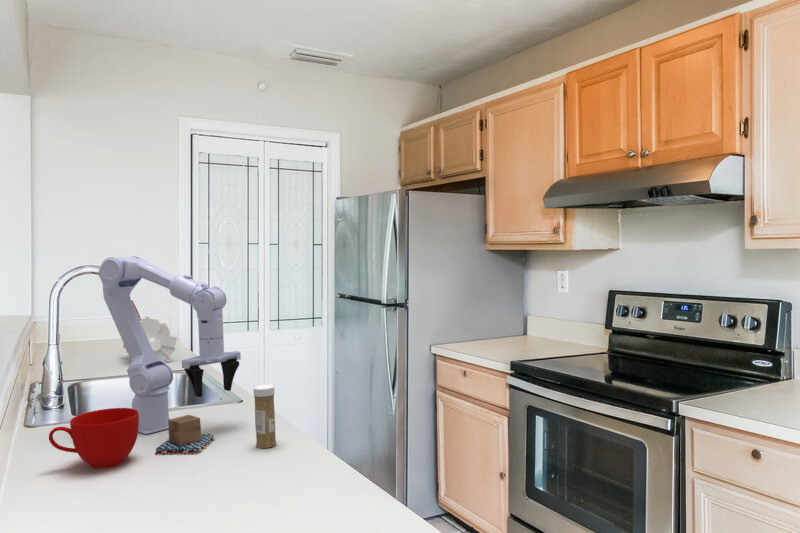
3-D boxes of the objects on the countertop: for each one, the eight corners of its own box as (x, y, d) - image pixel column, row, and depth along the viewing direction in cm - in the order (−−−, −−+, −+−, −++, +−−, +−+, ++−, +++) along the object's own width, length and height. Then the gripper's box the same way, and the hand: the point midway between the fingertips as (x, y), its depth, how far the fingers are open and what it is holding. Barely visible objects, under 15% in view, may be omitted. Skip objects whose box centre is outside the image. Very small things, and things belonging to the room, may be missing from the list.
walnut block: (169, 441, 135) (168, 419, 135) (189, 436, 139) (188, 414, 139) (180, 445, 132) (179, 423, 132) (201, 439, 135) (200, 418, 135)
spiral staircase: (144, 377, 234) (132, 364, 255) (186, 353, 242) (171, 342, 263) (120, 337, 228) (110, 328, 249) (164, 314, 236) (151, 306, 257)
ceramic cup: (54, 461, 128) (52, 415, 128) (140, 448, 135) (138, 404, 135) (45, 482, 116) (43, 431, 116) (140, 467, 123) (138, 419, 123)
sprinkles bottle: (279, 446, 134) (277, 386, 134) (259, 450, 131) (257, 389, 131) (271, 440, 138) (269, 382, 137) (252, 445, 135) (250, 386, 135)
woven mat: (152, 458, 130) (151, 448, 130) (173, 442, 141) (172, 433, 141) (199, 457, 130) (198, 448, 130) (216, 441, 140) (216, 433, 140)
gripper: (190, 343, 138) (193, 401, 138) (246, 335, 148) (248, 389, 149) (176, 340, 143) (179, 397, 143) (231, 333, 153) (233, 385, 153)
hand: (213, 393), depth 146 cm, fingers open, 7 cm apart
